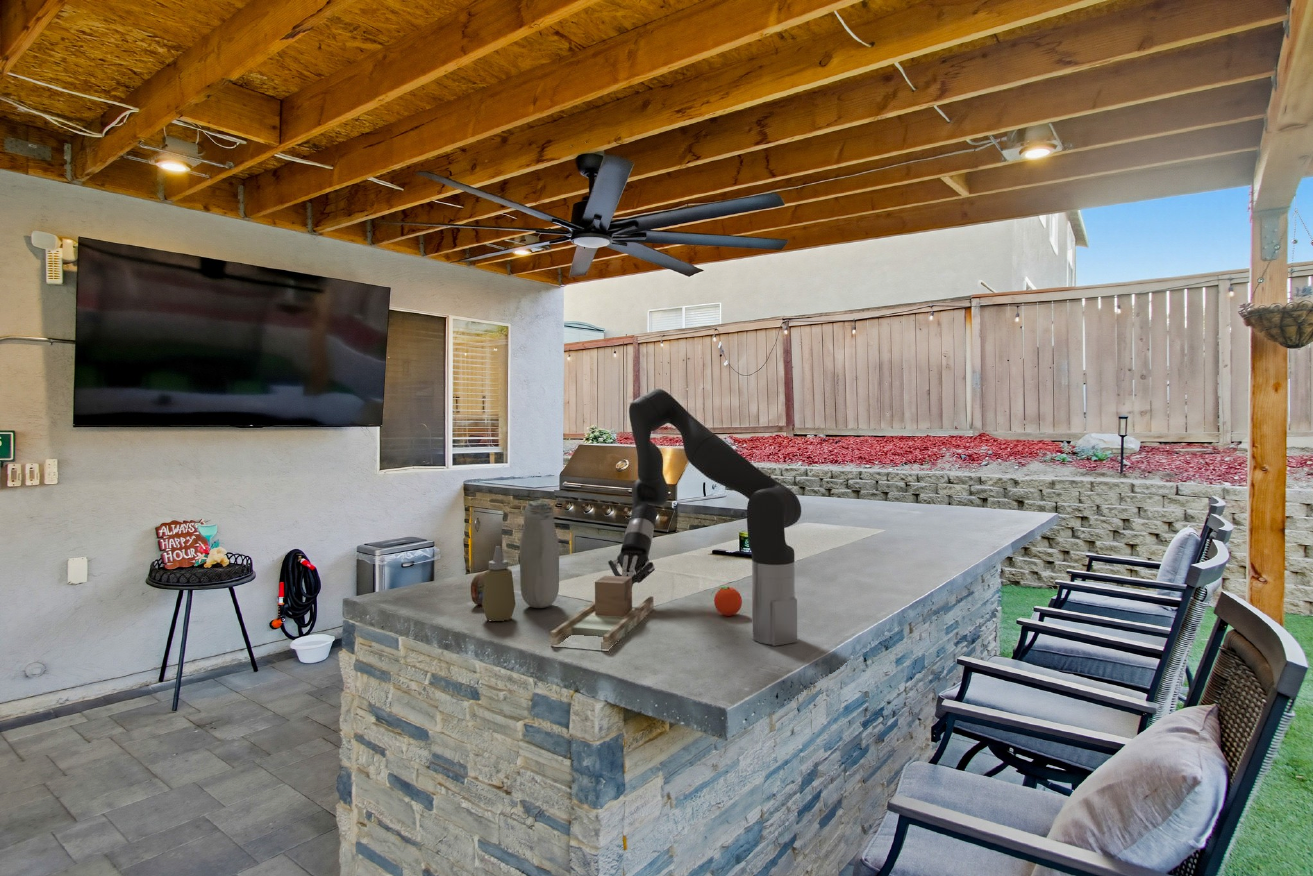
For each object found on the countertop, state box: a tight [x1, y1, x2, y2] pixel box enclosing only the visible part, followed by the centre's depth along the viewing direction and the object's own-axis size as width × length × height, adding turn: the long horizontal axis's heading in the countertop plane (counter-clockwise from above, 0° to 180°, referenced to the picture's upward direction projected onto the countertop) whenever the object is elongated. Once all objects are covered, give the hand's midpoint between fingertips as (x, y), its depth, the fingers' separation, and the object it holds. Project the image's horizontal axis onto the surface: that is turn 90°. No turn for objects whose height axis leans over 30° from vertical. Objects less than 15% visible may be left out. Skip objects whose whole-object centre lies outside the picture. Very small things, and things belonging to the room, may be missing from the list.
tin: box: [470, 570, 487, 606], centre depth 184 cm, size 15×3×8 cm, turn 162°
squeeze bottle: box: [481, 545, 517, 622], centre depth 166 cm, size 8×8×18 cm
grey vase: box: [519, 499, 560, 609], centre depth 177 cm, size 10×10×28 cm
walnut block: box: [594, 575, 633, 617], centre depth 164 cm, size 7×7×8 cm
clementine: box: [710, 586, 743, 617], centre depth 168 cm, size 8×7×7 cm
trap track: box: [550, 596, 654, 649], centre depth 159 cm, size 34×13×3 cm, turn 164°
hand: (623, 594), depth 171 cm, fingers closed
